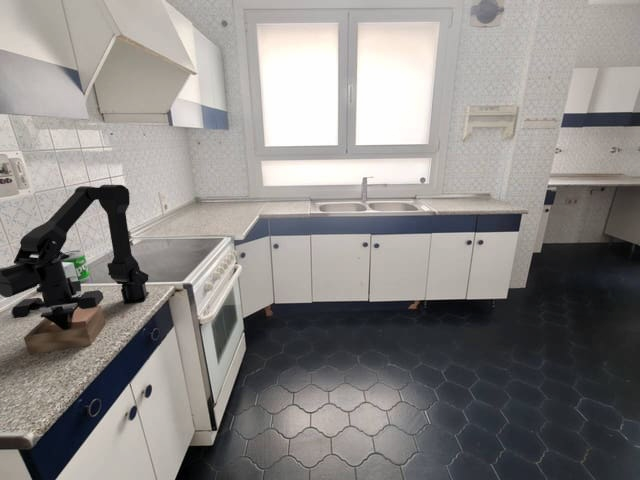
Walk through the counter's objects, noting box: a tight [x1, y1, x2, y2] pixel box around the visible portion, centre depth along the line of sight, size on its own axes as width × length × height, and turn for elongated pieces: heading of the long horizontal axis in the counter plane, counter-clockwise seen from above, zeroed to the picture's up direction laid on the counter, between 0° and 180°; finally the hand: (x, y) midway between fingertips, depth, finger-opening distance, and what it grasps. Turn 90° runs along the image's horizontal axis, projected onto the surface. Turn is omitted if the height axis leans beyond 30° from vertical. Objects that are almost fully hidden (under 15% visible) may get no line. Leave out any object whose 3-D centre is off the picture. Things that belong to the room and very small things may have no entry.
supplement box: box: [62, 262, 83, 297], centre depth 107 cm, size 7×7×13 cm
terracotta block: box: [49, 304, 102, 332], centre depth 91 cm, size 9×9×4 cm
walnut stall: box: [23, 308, 107, 355], centre depth 86 cm, size 14×10×5 cm
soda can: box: [61, 249, 91, 284], centre depth 121 cm, size 8×8×12 cm
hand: (68, 330), depth 85 cm, fingers closed
